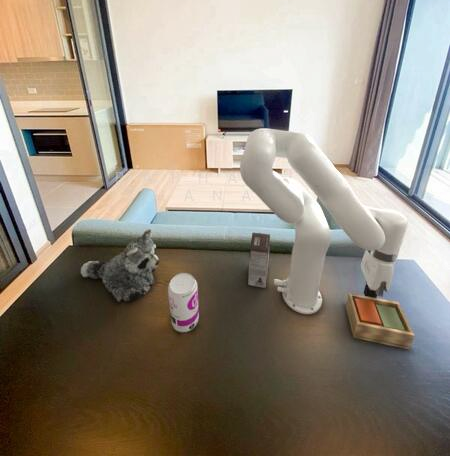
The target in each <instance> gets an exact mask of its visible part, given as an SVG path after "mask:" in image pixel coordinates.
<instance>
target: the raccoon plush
mask: <svg viewBox="0 0 450 456" xmlns="http://www.w3.org/2000/svg"><path fill="white" fill-rule="evenodd" d="M152 231H153V229H151V228H148V229H146V230H145V231H144V232H143V234H142V235H141V236H140V235H138V236H137V237H135V239H134V240H133V241H130V242H129V243H128V244H127V245H126V248H125V249H124V250H123V251H122V252H120V253H119V254H117V255H115V256H113V258H110V260H109V261H98V260H96V261H93V260H89V261H87V262H86V263H85V262H84V264H83V265H82V266H81V267H80V275H81V276H82V278H88V277H89V278H90V279H95V280H96V279H101V280H102V283H103V284H104V287H105V288H106V289H107V290H108V292H110V293H111V294H112V296H113V298H114V299H115V300H116V301H117V302H118V303H119V302H121V301H122V300H123V301H125V302H127V301H129V302H131V301H135V300H138V299H139V298H140V297H142V295H146V294H147V293H148V292H149V291H150V289H151V287H150V286H152V285H154V284H155V278H154V275H153V273H154V272H155V270H156V268H157V267H158V266H159V264H160V259H159V257H158V256H157V254H156V253H157V249H156V248H157V246H156V244H155V243H154V241H153V239H152V238H151V237H152V236H153V232H152Z"/></svg>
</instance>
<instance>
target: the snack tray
mask: <svg viewBox="0 0 450 456" xmlns="http://www.w3.org/2000/svg"><path fill="white" fill-rule="evenodd" d="M345 310H346V313H347V316H348V321H349V324H350V329H351V333H352V337H353V338H354V339H358V340H363V341H367V342H372V343H378V344H380V345H381V344H382V345H387V346H391V347H396V348H401V349H406V350H410V348H411V346H412V343H413V341H414V339H415V337H416V336H415V333H414V331H413V329H412V327H411V325H410V323H409V321H408V319H407V317H406V315H405V313H404V310H403V308H402V306H401V304H400V302H399V301H394V300H389V299H385V298H380V297H379V298H378V297H377V298H373V297H368V296H365V295H362V294H356V293H350V292H348V295H347V299H346V302H345Z"/></svg>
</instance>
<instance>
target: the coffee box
mask: <svg viewBox="0 0 450 456" xmlns="http://www.w3.org/2000/svg"><path fill="white" fill-rule="evenodd" d="M270 244H271V234H270V233H262V232H252V233H251V240H250V246H249V261H248V280H247V285H248V286H252V287H257V288H264V289H265V288H266V287H267V280H268V279H267V278H268V269H269V257H270V246H271V245H270Z"/></svg>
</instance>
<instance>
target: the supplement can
mask: <svg viewBox="0 0 450 456" xmlns="http://www.w3.org/2000/svg"><path fill="white" fill-rule="evenodd" d="M198 289H199V288H198V281H197V280H196V279H195V277H194V276H193V275H192V274H191V273H188V272H180V273H178V274H176V275H175V276H173V277H172V279H171V280H170V282H169V284H168V287H167V293H168V303H169V311H170V312H169V313H170V322H171V325H172V327H173V329H174V330H175V331H177V332H179V333H187V332H190V331H192V330H193V329H194V328H195V327H196V326H197V324H198V323H199V318H200V313H199V312H200V311H199V310H200V309H199V293H198V291H199V290H198Z"/></svg>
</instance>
